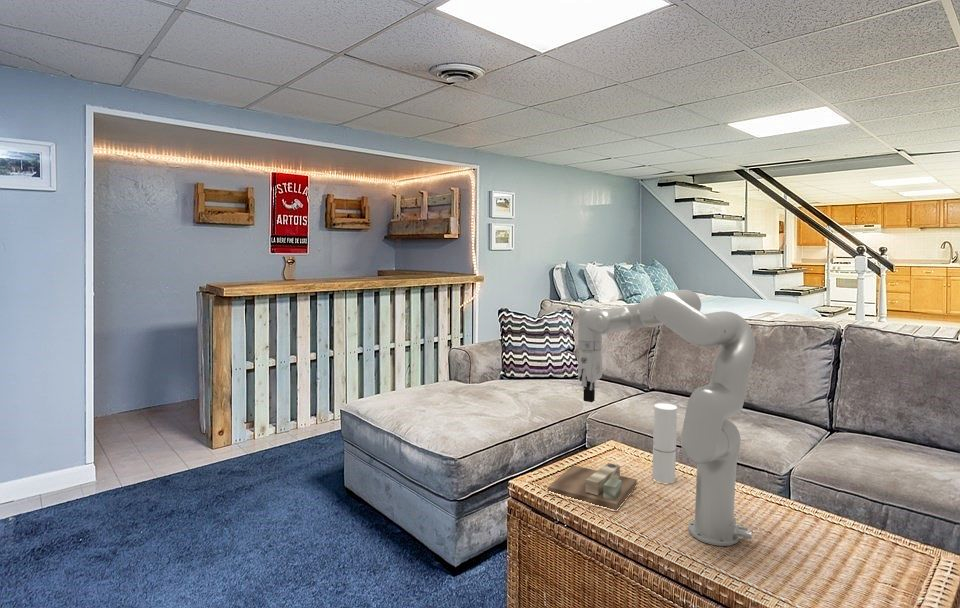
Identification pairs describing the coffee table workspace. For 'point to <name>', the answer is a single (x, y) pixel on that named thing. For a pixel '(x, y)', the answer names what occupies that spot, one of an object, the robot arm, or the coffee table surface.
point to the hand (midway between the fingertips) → (589, 401)
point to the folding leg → (602, 478)
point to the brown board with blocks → (575, 487)
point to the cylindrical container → (664, 442)
